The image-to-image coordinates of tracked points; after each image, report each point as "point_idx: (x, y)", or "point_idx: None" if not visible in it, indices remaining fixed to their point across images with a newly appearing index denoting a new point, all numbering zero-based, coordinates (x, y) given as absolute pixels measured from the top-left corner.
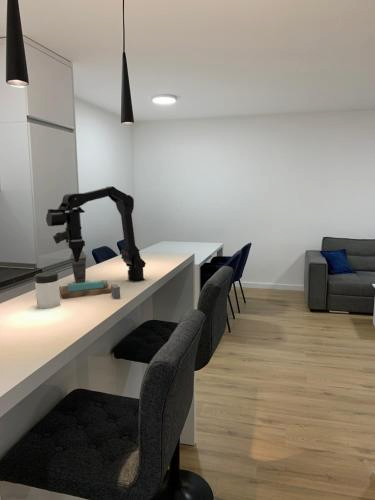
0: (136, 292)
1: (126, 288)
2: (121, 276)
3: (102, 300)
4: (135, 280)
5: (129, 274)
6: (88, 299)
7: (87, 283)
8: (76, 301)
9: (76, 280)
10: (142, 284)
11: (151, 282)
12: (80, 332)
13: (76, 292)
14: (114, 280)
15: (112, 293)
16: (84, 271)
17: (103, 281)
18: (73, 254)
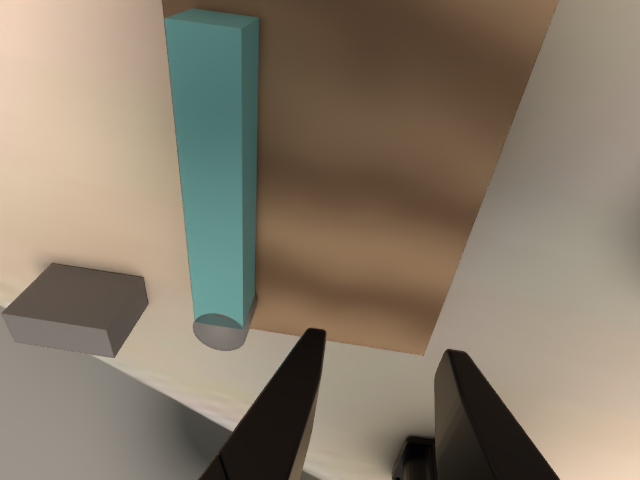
0: (160, 376)
1: (272, 375)
2: (596, 452)
3: (35, 203)
4: (402, 452)
5: (435, 477)
6: (86, 134)
7: (187, 217)
8: (47, 32)
9: None
10: (312, 441)
11: (327, 471)
12: None
13: (170, 81)
14: (527, 400)
15: (90, 286)
16: None
17: (204, 325)
18: (209, 464)
